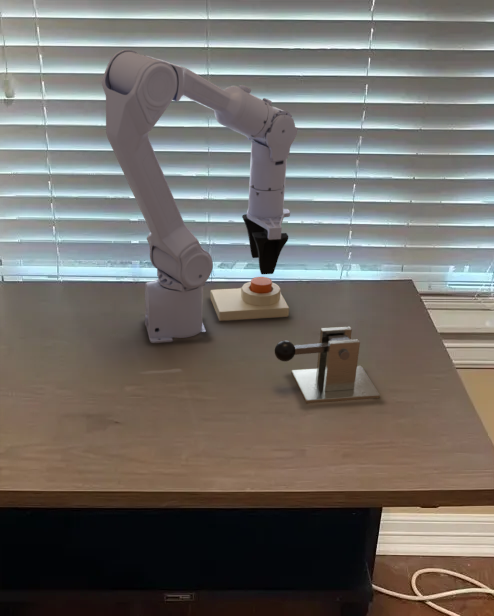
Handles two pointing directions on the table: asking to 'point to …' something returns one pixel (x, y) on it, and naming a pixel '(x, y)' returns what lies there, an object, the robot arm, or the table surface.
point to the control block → (248, 303)
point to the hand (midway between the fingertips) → (262, 265)
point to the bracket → (336, 372)
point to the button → (261, 285)
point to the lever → (303, 348)
